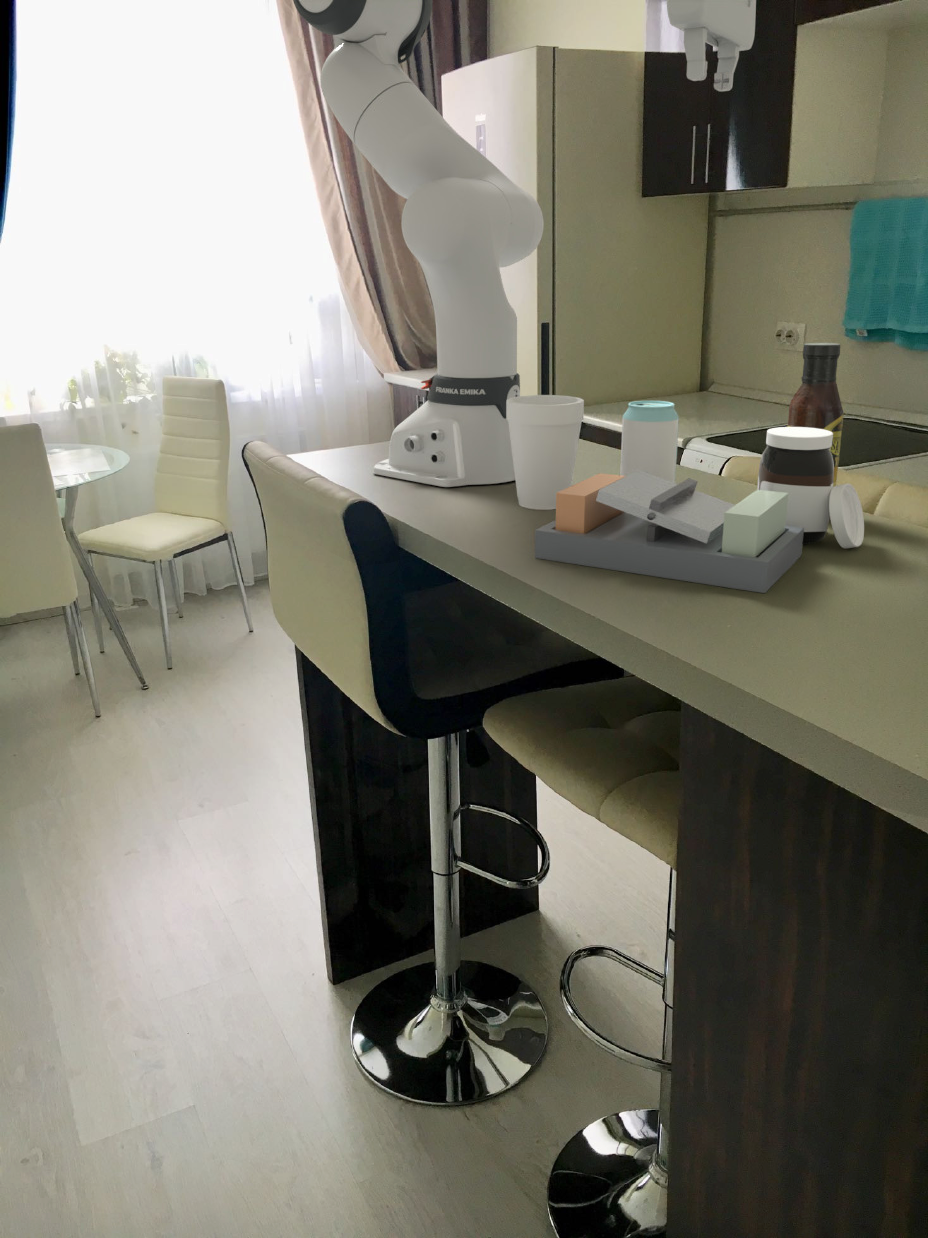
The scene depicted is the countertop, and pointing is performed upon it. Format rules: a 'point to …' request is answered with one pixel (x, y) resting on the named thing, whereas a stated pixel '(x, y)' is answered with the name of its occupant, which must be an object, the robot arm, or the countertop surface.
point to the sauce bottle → (819, 395)
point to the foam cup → (543, 446)
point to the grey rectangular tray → (669, 553)
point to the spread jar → (810, 485)
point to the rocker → (668, 504)
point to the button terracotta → (584, 505)
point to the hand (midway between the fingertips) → (710, 85)
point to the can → (650, 439)
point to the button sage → (754, 523)
